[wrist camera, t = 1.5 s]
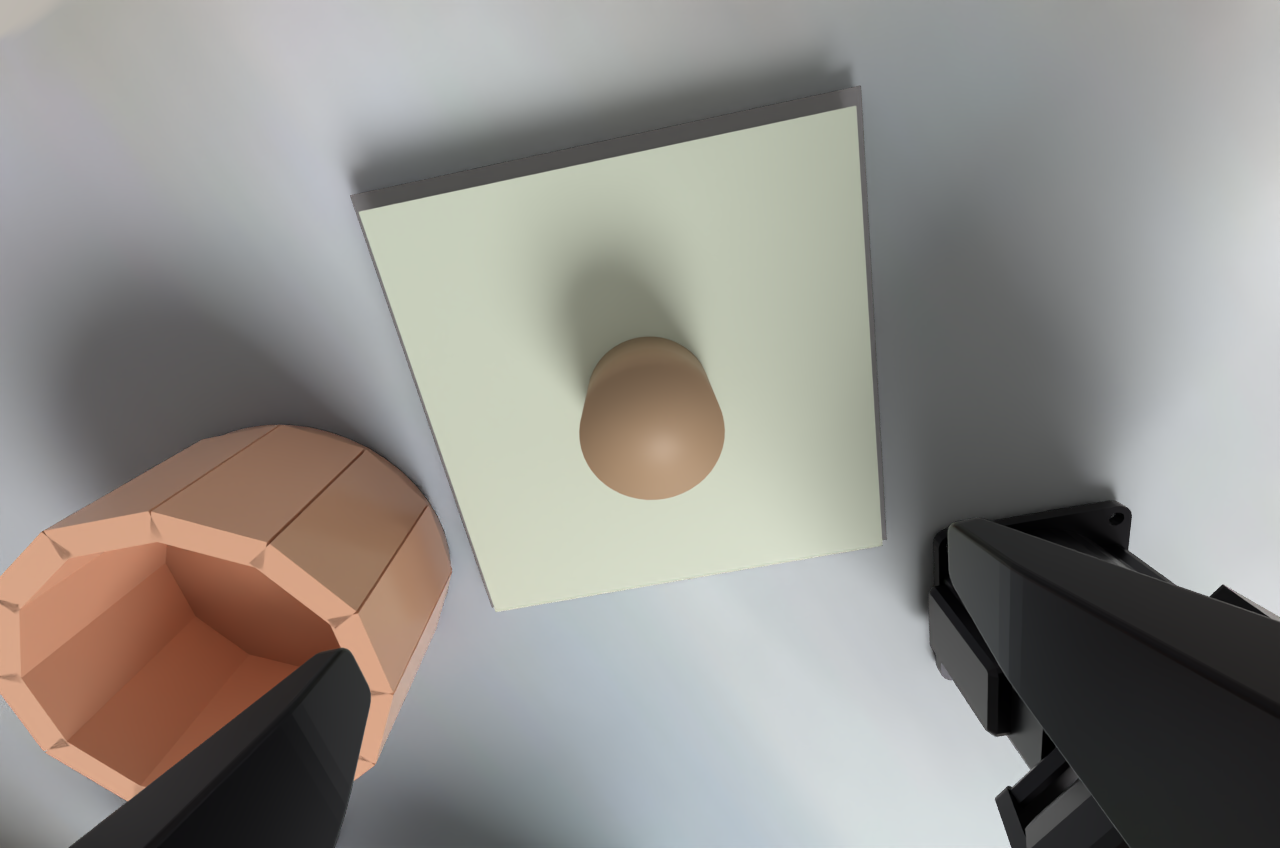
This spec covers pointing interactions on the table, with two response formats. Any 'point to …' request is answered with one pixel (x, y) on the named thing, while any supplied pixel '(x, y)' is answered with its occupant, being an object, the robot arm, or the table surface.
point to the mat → (630, 146)
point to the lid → (648, 359)
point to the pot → (218, 598)
